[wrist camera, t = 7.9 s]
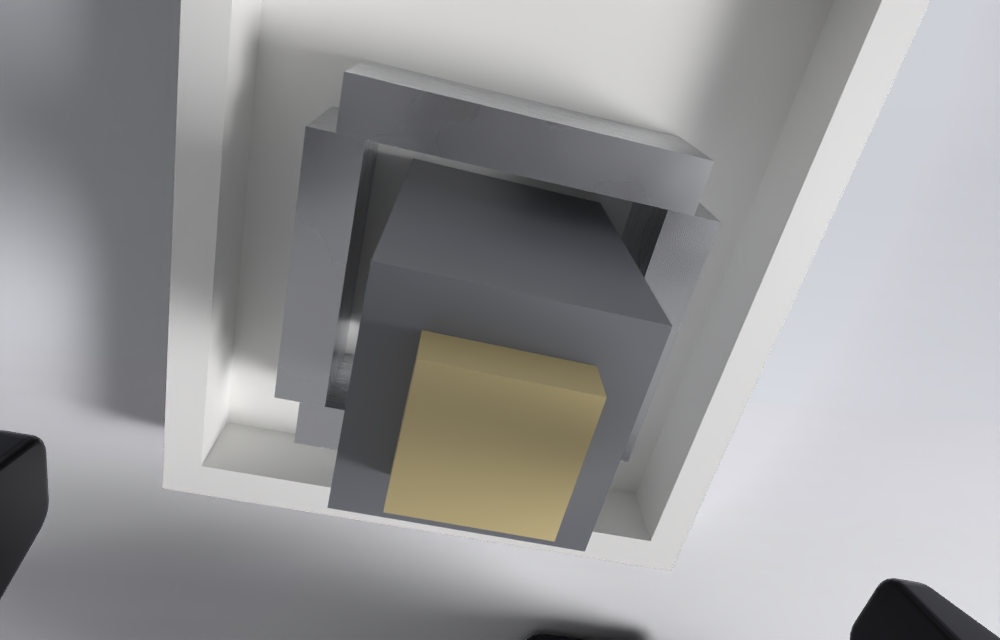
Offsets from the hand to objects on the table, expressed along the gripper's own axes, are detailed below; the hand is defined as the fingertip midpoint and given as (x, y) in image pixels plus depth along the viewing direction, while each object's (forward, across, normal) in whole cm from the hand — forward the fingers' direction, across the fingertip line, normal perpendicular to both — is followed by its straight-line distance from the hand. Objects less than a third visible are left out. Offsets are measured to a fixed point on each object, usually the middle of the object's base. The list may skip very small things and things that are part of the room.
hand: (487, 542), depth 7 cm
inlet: (+9, 0, 0) cm, 9 cm away
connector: (+8, 0, 0) cm, 9 cm away
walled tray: (+9, 0, -1) cm, 9 cm away
